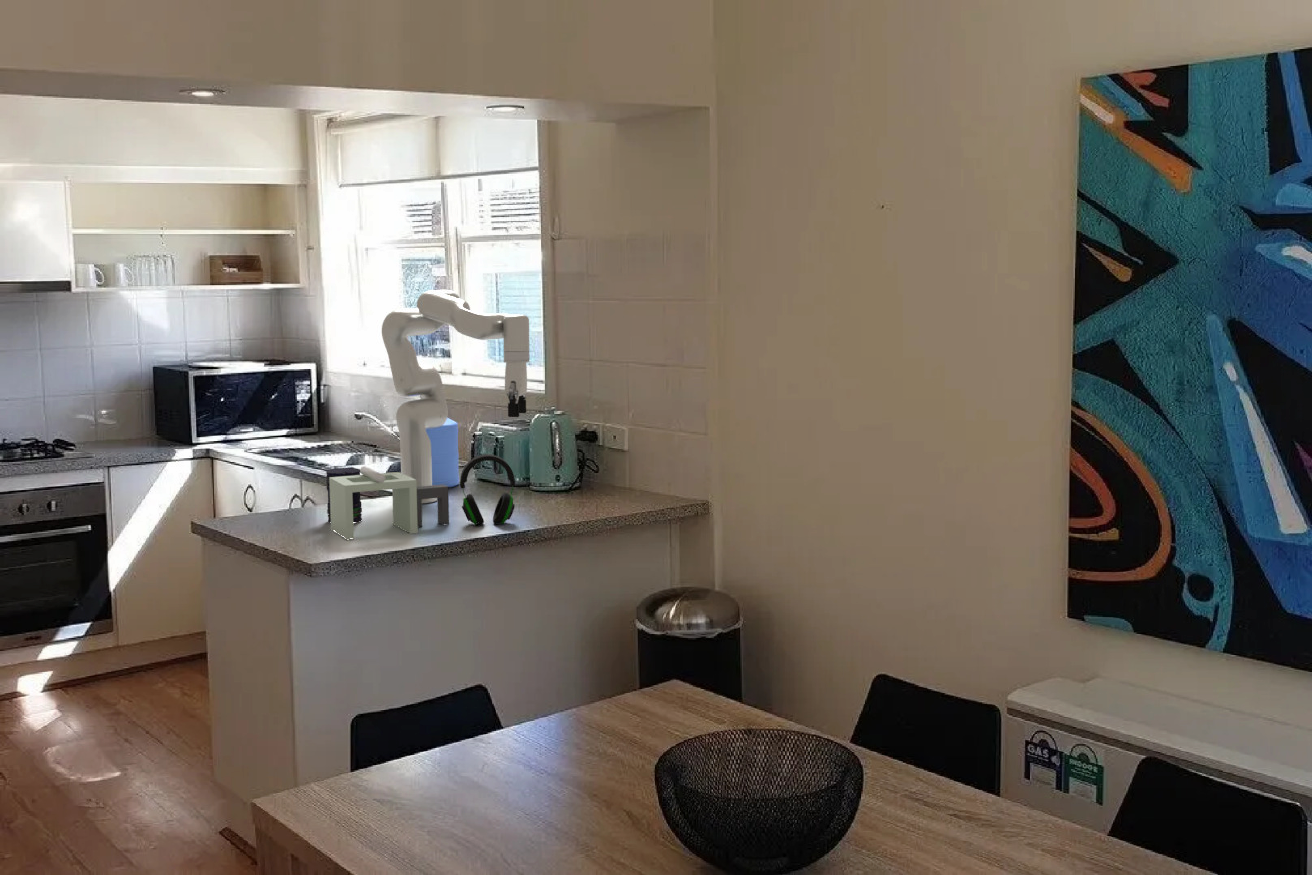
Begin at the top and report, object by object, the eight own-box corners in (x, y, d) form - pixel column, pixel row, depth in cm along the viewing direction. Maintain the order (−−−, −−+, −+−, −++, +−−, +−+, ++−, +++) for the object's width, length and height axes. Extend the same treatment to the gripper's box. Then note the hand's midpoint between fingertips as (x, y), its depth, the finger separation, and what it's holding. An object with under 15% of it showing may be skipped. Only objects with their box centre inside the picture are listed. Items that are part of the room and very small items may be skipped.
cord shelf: (331, 530, 394) (328, 468, 391) (400, 523, 403) (398, 463, 400) (346, 540, 380) (344, 476, 377) (417, 533, 389) (416, 471, 386)
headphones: (517, 526, 399) (516, 456, 396) (462, 528, 395) (460, 458, 393) (513, 520, 408) (512, 452, 405) (459, 522, 405) (458, 453, 402)
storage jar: (324, 519, 409) (323, 469, 407) (358, 517, 413) (356, 466, 411) (331, 525, 400) (329, 474, 398) (365, 522, 404) (363, 471, 402)
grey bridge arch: (411, 525, 400) (410, 487, 399) (444, 522, 405) (443, 484, 403) (415, 527, 397) (414, 489, 395) (449, 524, 401) (448, 486, 400)
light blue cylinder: (468, 483, 471) (467, 401, 468) (437, 490, 458) (435, 405, 454) (433, 479, 480) (431, 398, 476) (402, 486, 466) (399, 402, 463)
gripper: (510, 354, 420) (511, 411, 422) (497, 359, 403) (498, 418, 405) (535, 354, 419) (535, 411, 421) (522, 359, 402) (523, 418, 404)
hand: (517, 414), depth 413 cm, fingers open, 9 cm apart
